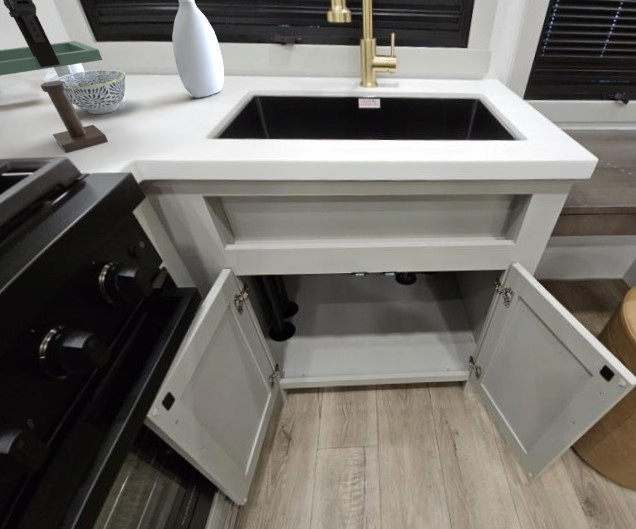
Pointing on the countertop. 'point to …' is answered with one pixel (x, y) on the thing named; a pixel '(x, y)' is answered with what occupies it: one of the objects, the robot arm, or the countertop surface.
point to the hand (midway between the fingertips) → (49, 64)
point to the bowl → (95, 89)
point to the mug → (68, 69)
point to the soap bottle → (196, 51)
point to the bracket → (50, 74)
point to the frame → (66, 55)
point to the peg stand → (71, 120)
